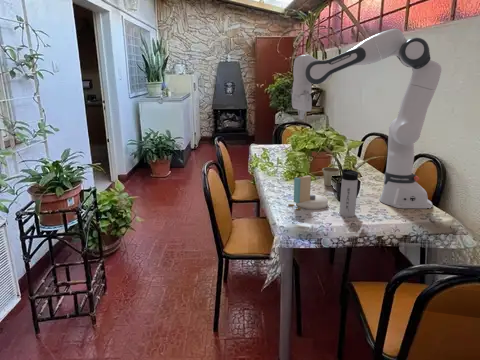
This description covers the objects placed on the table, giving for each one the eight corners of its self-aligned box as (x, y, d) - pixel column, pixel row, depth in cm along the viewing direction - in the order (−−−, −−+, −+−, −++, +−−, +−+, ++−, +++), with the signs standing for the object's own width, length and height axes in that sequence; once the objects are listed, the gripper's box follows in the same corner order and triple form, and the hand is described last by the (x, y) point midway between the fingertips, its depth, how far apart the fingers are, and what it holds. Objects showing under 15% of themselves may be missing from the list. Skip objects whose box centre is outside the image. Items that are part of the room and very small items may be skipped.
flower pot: (339, 187, 195) (340, 172, 193) (321, 186, 197) (322, 171, 195) (338, 183, 204) (339, 167, 202) (321, 182, 206) (322, 167, 204)
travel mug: (345, 212, 159) (349, 167, 154) (357, 217, 154) (361, 171, 148) (335, 215, 156) (338, 169, 151) (347, 220, 151) (351, 173, 145)
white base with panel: (312, 197, 176) (313, 169, 172) (334, 205, 164) (336, 176, 161) (285, 203, 167) (285, 174, 163) (306, 212, 156) (307, 182, 152)
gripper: (315, 90, 168) (314, 121, 172) (301, 89, 188) (301, 117, 191) (302, 91, 167) (301, 121, 171) (289, 89, 187) (289, 117, 190)
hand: (301, 119), depth 181 cm, fingers closed
